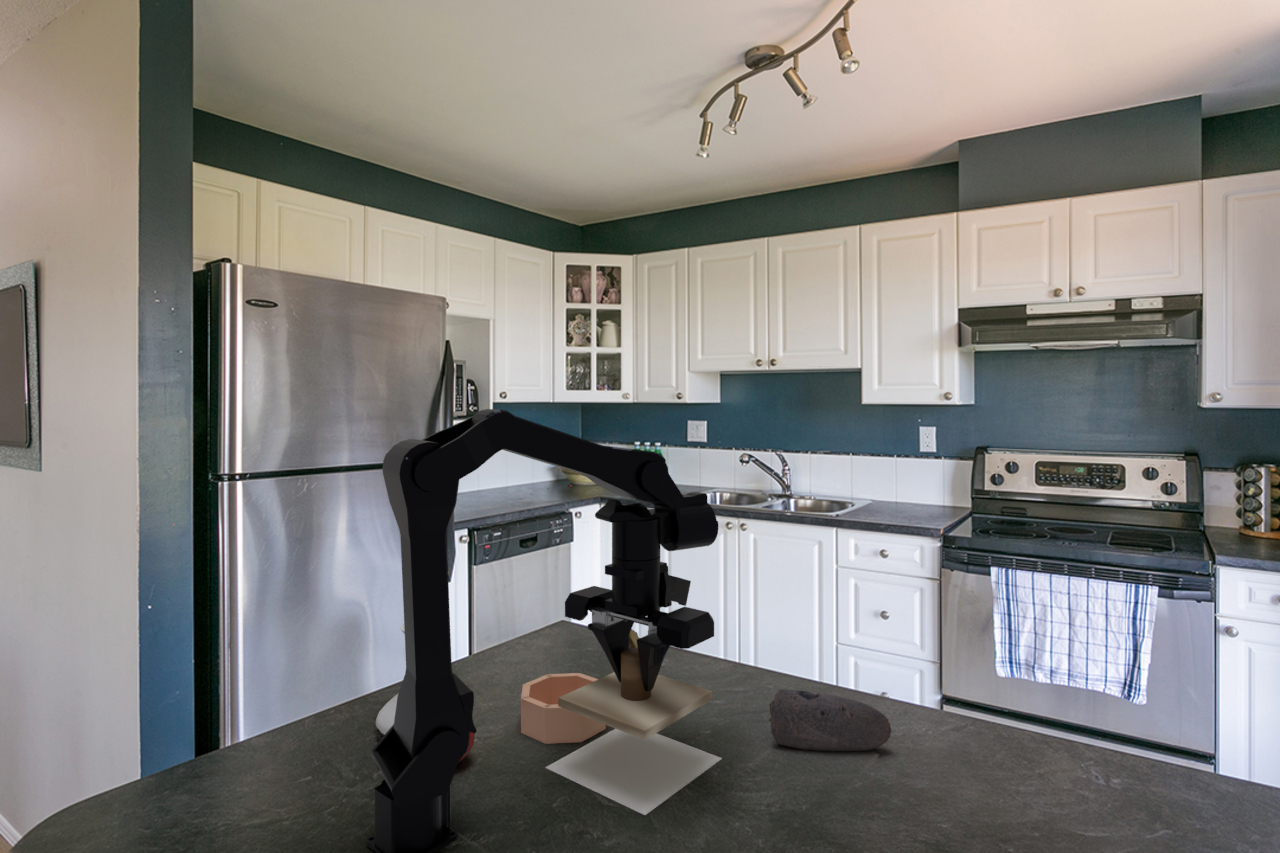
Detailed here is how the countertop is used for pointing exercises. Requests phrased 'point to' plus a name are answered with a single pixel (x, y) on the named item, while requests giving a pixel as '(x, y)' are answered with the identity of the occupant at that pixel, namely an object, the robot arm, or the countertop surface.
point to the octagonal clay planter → (555, 710)
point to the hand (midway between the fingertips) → (635, 686)
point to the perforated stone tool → (826, 722)
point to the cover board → (635, 700)
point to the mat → (634, 768)
